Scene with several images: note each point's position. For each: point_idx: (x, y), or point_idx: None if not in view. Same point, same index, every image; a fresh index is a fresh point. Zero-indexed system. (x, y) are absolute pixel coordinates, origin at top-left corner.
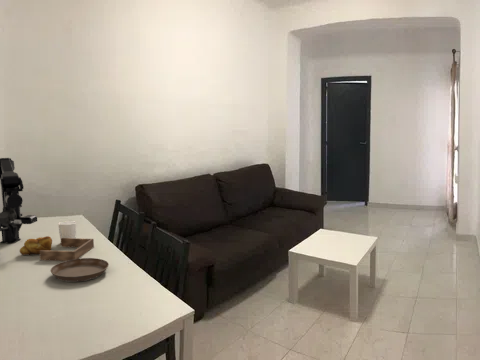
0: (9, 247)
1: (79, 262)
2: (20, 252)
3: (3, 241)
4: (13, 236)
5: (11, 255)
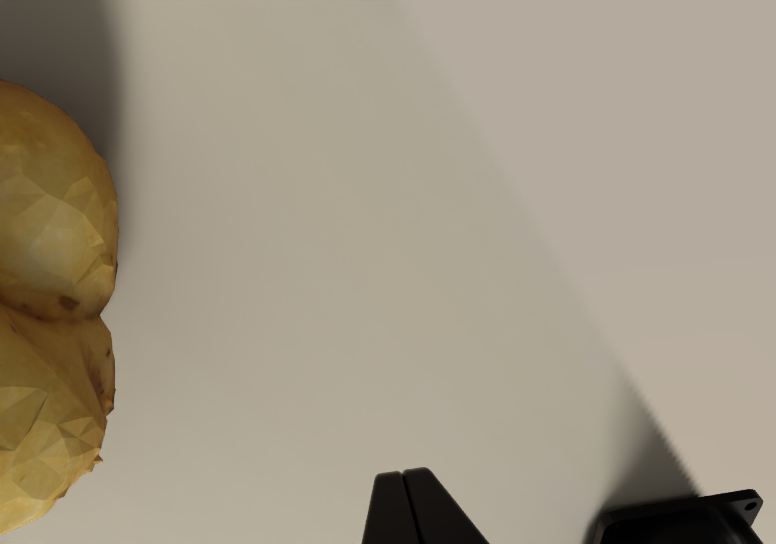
0: (572, 407)
1: None
2: (14, 86)
3: (729, 519)
4: (417, 507)
5: (295, 85)
